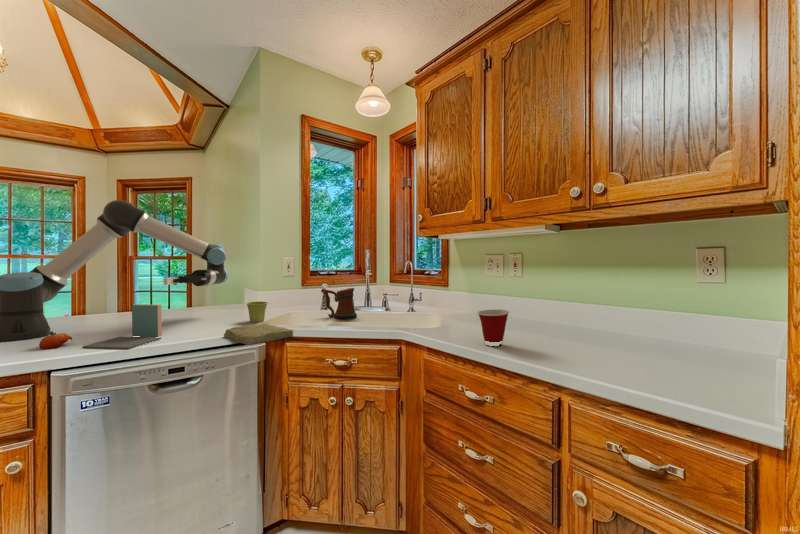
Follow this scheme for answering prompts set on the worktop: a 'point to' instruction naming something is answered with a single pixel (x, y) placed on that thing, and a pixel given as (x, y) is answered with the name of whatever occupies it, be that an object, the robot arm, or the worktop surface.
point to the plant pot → (256, 311)
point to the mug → (341, 303)
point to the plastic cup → (493, 324)
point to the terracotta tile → (146, 320)
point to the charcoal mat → (121, 342)
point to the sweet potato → (54, 340)
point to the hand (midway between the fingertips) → (165, 281)
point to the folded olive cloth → (257, 333)
